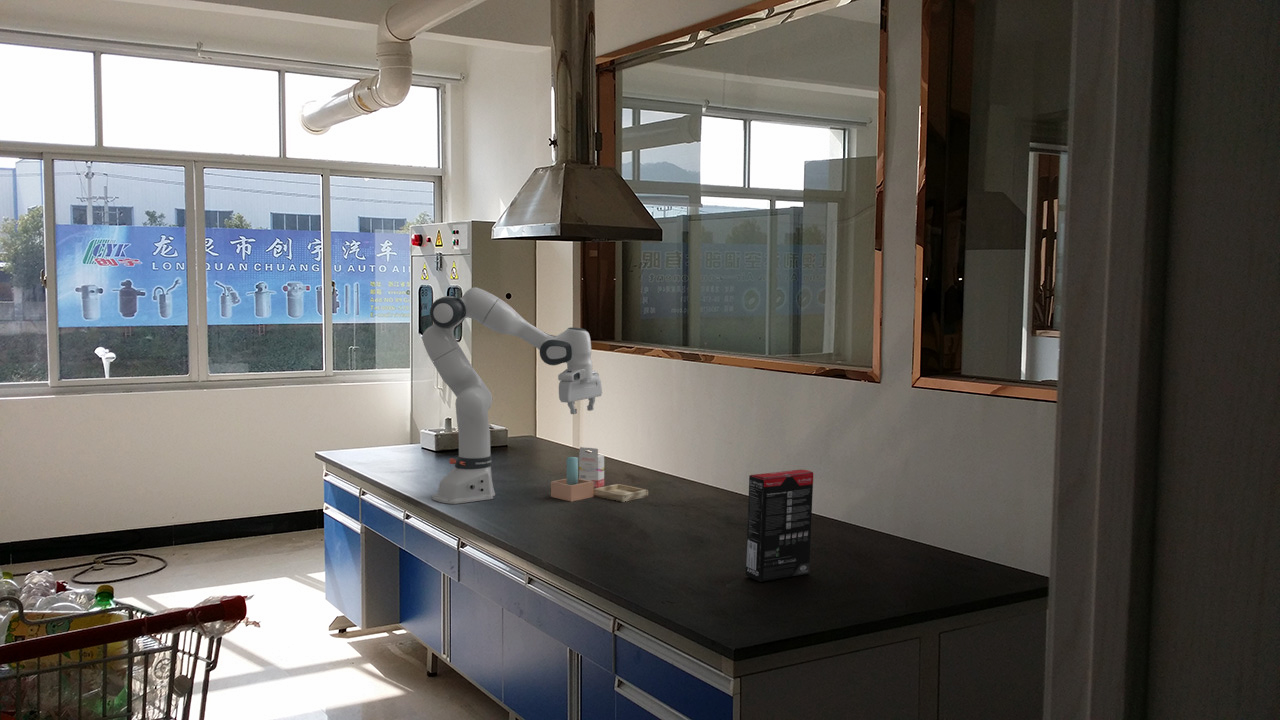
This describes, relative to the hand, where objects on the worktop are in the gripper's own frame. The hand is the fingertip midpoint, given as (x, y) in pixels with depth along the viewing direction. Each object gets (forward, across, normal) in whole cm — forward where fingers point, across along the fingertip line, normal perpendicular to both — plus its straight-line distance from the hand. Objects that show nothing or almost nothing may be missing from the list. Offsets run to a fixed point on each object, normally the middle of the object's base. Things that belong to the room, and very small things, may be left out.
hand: (582, 412), depth 350 cm
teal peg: (+30, +4, -3) cm, 30 cm away
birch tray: (+31, -7, +10) cm, 33 cm away
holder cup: (+30, +4, -3) cm, 30 cm away
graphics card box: (+33, +46, +100) cm, 115 cm away
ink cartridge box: (+30, -15, -9) cm, 35 cm away
